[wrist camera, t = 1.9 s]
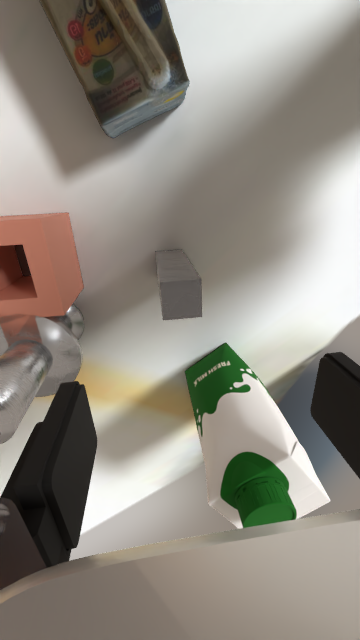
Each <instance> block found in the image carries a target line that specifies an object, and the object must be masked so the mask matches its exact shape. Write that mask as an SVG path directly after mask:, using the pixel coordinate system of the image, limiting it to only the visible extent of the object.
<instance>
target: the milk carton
mask: <svg viewBox="0 0 360 640" xmlns="http://www.w3.org/2000/svg"><path fill="white" fill-rule="evenodd" d="M185 374H186V379H187V384H188V388H189V393H190V398H191V402H192V406H193V411H194V416H195V421H196V425H197V430H198V434H199V439H200V444H201V448H202V453H203V458H204V462H205V467H206V479H207V493H208V503H209V505H210V506H211V507H212V508H214V509H215V510H216V511H217V512H219V513H220V514H221V515H222V516H224V517H225V518H226V519H228V520H229V521H230V522H231V523H233V524H234V525H235V526H236V527H237V528H238V529H241V528H247V527H253V526H259V525H265V524H271V523H277V522H283V521H289V520H296V519H298V518H300V517H302V516H304V515H306V514H308V513H310V512H311V511H313V510H315V509H317V508H319V507H321V506H323V505H324V504H326V503H328V502H330V499H329V497H328V495H327V494H326V492H325V490H324V488H323V486H322V485H321V483H320V481H319V479H318V477H317V476H316V474H315V471H314V469H313V467H312V464H311V462H310V460H309V458H308V456H307V454H306V452H305V450H304V449H303V447H302V446H301V445H300V443H299V442H298V440H297V438H296V436H295V435H294V433H293V431H292V430H291V428H290V426H289V425H288V423H287V421H286V420H285V418H284V417H283V415H282V413H281V412H280V410H279V408H278V407H277V405H276V404H275V402H274V400H273V399H272V397H271V396H270V394H269V392H268V391H267V389H266V388H265V386H264V385H263V383H262V382H261V381H260V380H259V378H258V377H257V376H256V375H255V373H254V372H253V371H252V370H251V369H250V368H249V367H248V365H247V364H246V363H245V362H244V361H243V360H242V359H241V358H240V357H239V356H238V355H237V354H236V353H235V352H234V351H233V350H232V349H231V348H230V346H229V345H228V344H227V343H224V344H223V345H222V346H220V347H219V348H217V349H216V350H214V351H213V352H212V353H210V354H209V355H207V356H206V357H205V358H203V359H202V360H200V361H199V362H197V363H196V364H195V365H193V366H192V367H190V368H189V369H187V370H186V371H185Z"/></svg>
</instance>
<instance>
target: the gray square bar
mask: <svg viewBox="0 0 360 640" xmlns="http://www.w3.org/2000/svg"><path fill="white" fill-rule="evenodd" d="M155 253H156V265H157V276H158V285H159V292H160V300H161V308H162V316H163V320H172V319H183V318H194V317H202V294H201V278H200V276H199V275H198V273H197V272H196V270H195V269H194V267H193V266H192V264H191V263H190V261H189V259H188V258H187V256H186V255H185V253H184V252H183V250H168V251H155Z"/></svg>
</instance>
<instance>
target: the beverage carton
mask: <svg viewBox="0 0 360 640" xmlns="http://www.w3.org/2000/svg"><path fill="white" fill-rule="evenodd" d="M39 1H40V3H41V5H42V7H43V9H44V11H45V13H46V15H47V17H48V19H49V21H50V23H51V25H52V27H53V29H54V31H55V33H56V35H57V37H58V39H59V41H60V43H61V45H62V47H63V49H64V51H65V53H66V55H67V57H68V59H69V61H70V63H71V65H72V67H73V69H74V71H75V73H76V75H77V77H78V79H79V81H80V83H81V84H82V86H83V88H84V90H85V93H86V96H87V99H88V101H89V103H90V105H91V107H92V109H93V111H94V113H95V116H96V118H97V120H98V122H99V124H100V126H101V128H102V129H103V131H104V132H105V133H106V135H107V136H110V137H111V138H115V137H117V136H118V135H120V134H122V133H124V132H126V131H127V130H129V129H131V128H133V127H135V126H137V125H139V124H141V123H143V122H145V121H148V120H150V119H152V118H154V117H156V116H158V115H160V114H162V113H164V112H166V111H169V110H171V109H173V108H175V107H177V106H178V105H180V104H182V102H183V100H184V99H185V95H186V90H187V88H188V86H189V79H188V77H187V73H186V70H185V67H184V63H183V60H182V56H181V52H180V47H179V44H178V41H177V38H176V36H175V33H174V30H173V26H172V22H171V19H170V16H169V12H168V9H167V6H166V3H165V0H39Z"/></svg>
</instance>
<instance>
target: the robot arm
mask: <svg viewBox="0 0 360 640" xmlns="http://www.w3.org/2000/svg"><path fill="white" fill-rule="evenodd" d="M311 415H312V417H313V419H314V420H315V421H316V423H317V424H318V425H319V427H320V428H321V429H322V430H323V432H324V433H325V434H326V436H327V437H328V438H329V439H330V441H331V442H332V443H333V445H334V446H335V447H336V449H337V450H338V451H339V452H340V453H341V455H342V456H343V458H344V459H345V460H346V462H347V463H348V464H349V465H350V467H351V468H352V469H353V471H354V472H355V473H356V475H357V476H358V477H359V478H360V366H359V365H358V364H356V363H355V362H354V361H353V360H351V359H350V358H349V357H347V356H346V355H345V354H343V353H342V352H336V353H327V354H325V355H324V357H323V358H321V359H320V363H319V368H318V374H317V379H316V384H315V389H314V394H313V399H312V404H311ZM96 449H97V436H96V431H95V427H94V423H93V419H92V415H91V411H90V407H89V402H88V398H87V394H86V390H85V386H84V385H79V382H78V381H74V382H65V383H61V384H60V386H59V388H58V390H57V393H56V395H55V397H54V399H53V401H52V404H51V406H50V408H49V410H48V412H47V415H46V417H45V419H44V421H43V422H39V423H37V424H36V426H35V427H34V429H33V431H32V433H31V435H30V437H29V439H28V441H27V443H26V446H25V448H24V450H23V452H22V454H21V456H20V458H19V460H18V462H17V464H16V466H15V468H14V470H13V472H12V474H11V477H10V479H9V481H8V483H7V485H6V487H5V489H4V491H3V493H2V495H1V497H0V640H360V509H357V510H351V511H345V512H339V513H332V514H326V515H320V516H314V517H308V518H302V519H296V520H289V521H283V522H277V523H271V524H265V525H259V526H253V527H247V528H241V529H235V530H230V531H224V532H218V533H212V534H207V535H201V536H195V537H189V538H184V539H177V540H171V541H166V542H160V543H154V544H148V545H143V546H138V547H133V548H128V549H122V550H117V551H112V552H107V553H102V554H96V555H92V556H88V557H84V558H79V559H75V560H71V561H69V558H70V553H71V549H73V548H76V547H77V545H78V541H79V537H80V531H81V526H82V521H83V516H84V511H85V506H86V500H87V495H88V490H89V485H90V480H91V474H92V469H93V464H94V459H95V454H96Z"/></svg>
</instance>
